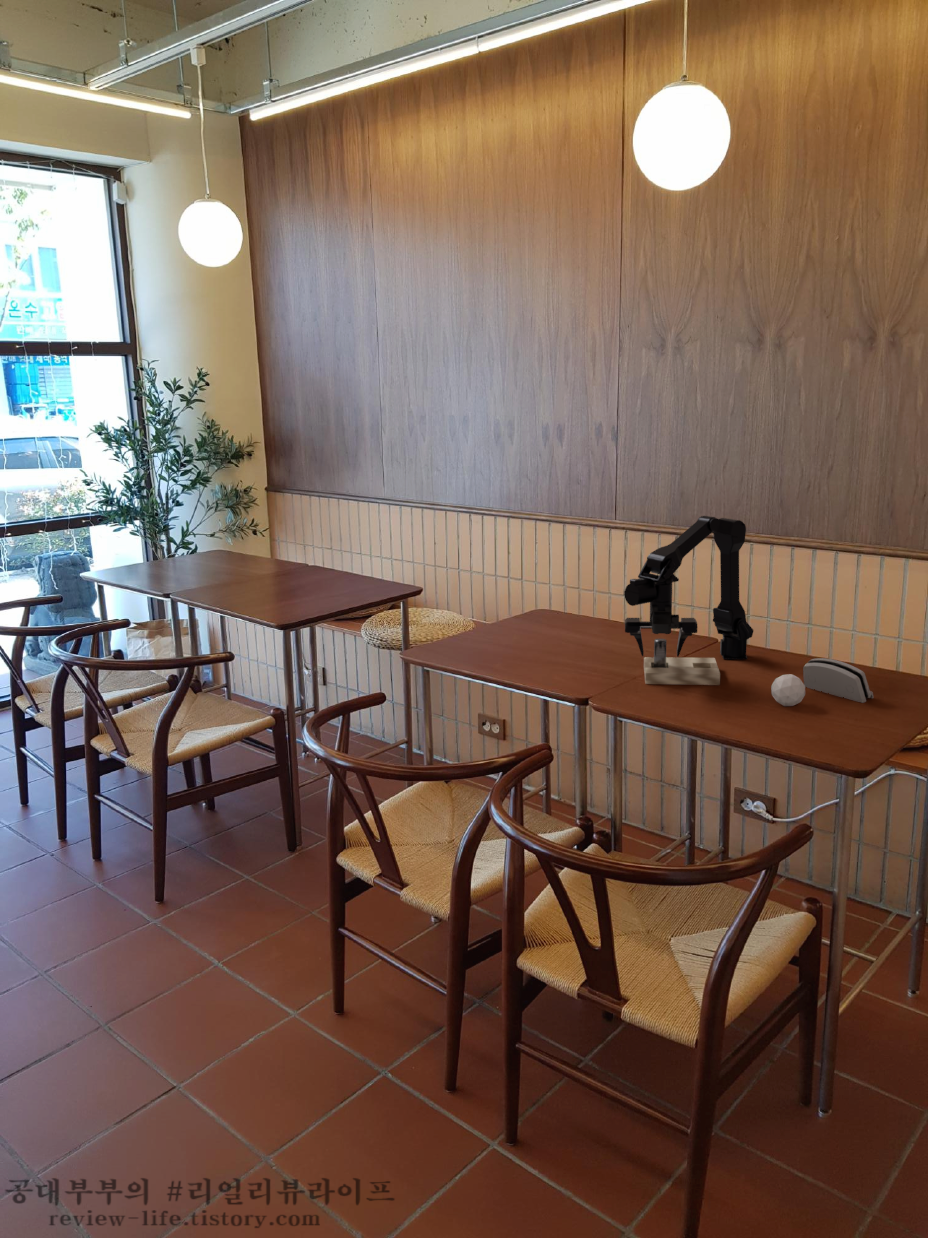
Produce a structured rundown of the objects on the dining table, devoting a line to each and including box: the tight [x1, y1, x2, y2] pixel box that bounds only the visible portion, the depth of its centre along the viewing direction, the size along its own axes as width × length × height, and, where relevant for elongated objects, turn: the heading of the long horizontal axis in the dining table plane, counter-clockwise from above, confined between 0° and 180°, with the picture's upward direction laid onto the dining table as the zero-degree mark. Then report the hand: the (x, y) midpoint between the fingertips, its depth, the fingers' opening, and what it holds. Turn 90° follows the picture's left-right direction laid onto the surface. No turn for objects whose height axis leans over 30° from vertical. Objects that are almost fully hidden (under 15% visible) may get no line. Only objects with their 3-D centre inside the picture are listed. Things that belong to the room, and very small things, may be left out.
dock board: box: [643, 656, 721, 686], centre depth 251 cm, size 19×14×3 cm
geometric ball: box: [770, 673, 806, 707], centre depth 226 cm, size 8×8×8 cm
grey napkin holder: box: [802, 657, 874, 704], centre depth 232 cm, size 17×5×10 cm, turn 36°
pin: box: [653, 638, 667, 668], centre depth 251 cm, size 3×3×10 cm
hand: (660, 656), depth 251 cm, fingers open, 9 cm apart
